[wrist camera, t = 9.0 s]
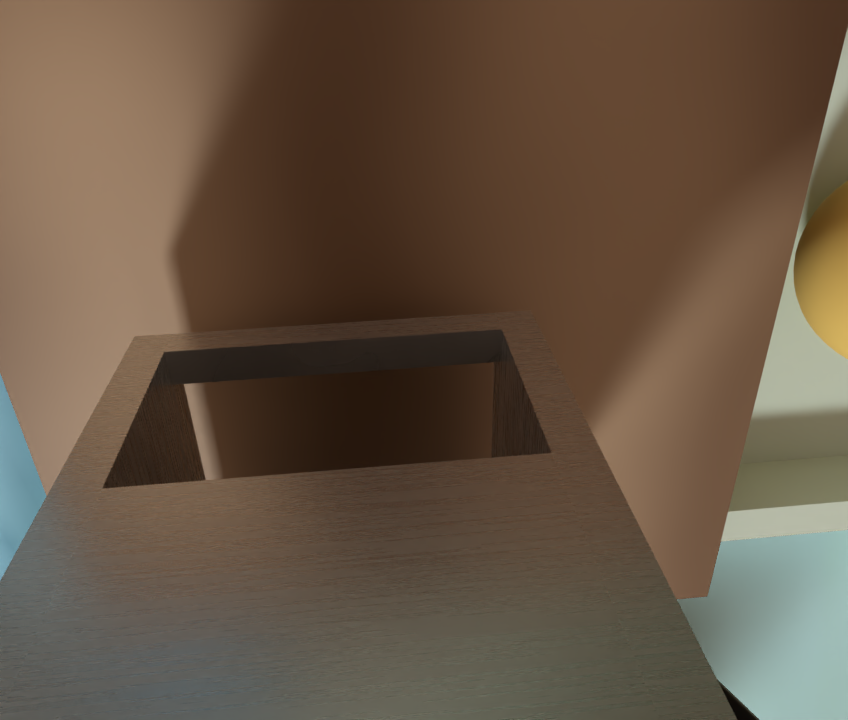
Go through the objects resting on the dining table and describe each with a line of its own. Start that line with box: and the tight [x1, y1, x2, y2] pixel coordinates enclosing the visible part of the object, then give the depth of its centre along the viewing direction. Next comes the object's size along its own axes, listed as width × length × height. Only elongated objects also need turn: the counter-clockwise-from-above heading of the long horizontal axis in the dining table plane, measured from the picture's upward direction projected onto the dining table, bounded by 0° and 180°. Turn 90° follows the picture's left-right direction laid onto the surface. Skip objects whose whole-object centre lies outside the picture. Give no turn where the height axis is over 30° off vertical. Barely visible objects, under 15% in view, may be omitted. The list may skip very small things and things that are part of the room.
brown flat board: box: [0, 0, 848, 599], centre depth 12 cm, size 12×14×2 cm
